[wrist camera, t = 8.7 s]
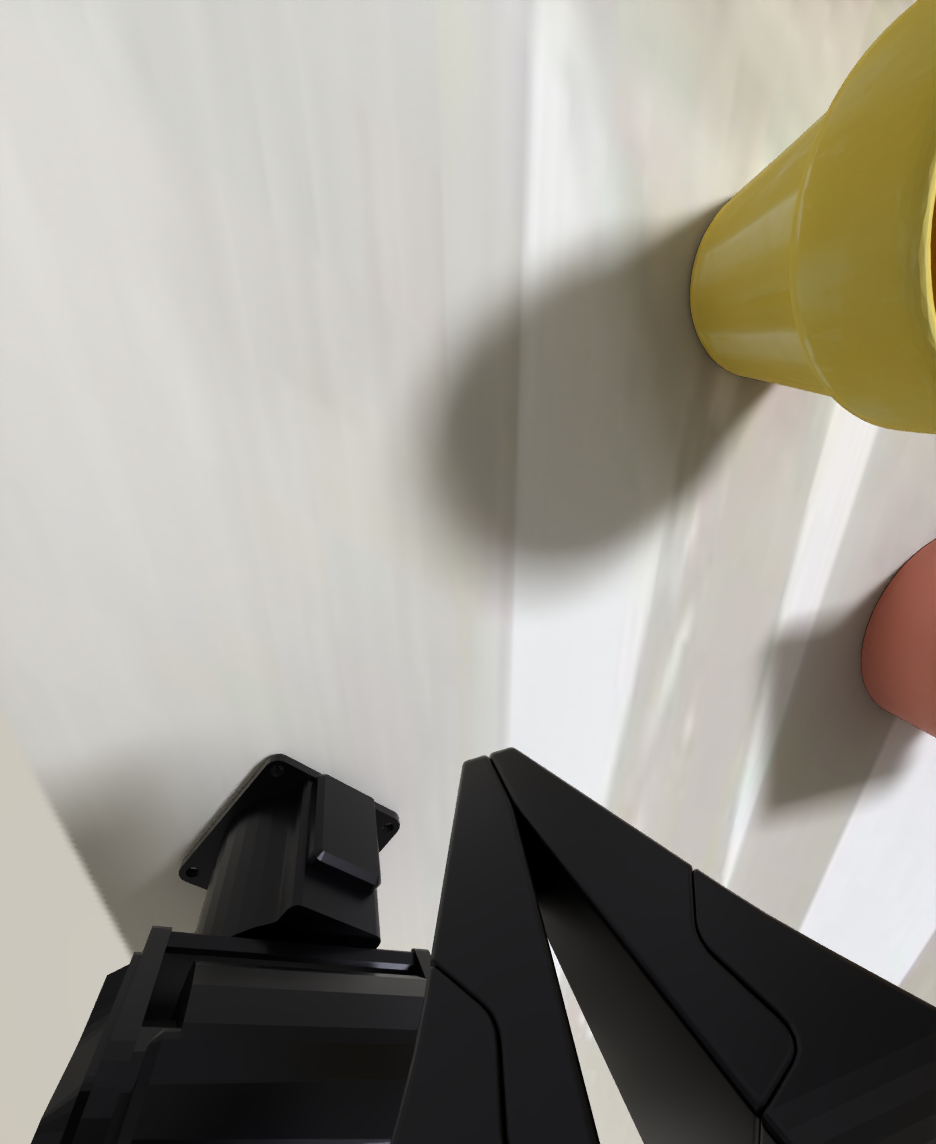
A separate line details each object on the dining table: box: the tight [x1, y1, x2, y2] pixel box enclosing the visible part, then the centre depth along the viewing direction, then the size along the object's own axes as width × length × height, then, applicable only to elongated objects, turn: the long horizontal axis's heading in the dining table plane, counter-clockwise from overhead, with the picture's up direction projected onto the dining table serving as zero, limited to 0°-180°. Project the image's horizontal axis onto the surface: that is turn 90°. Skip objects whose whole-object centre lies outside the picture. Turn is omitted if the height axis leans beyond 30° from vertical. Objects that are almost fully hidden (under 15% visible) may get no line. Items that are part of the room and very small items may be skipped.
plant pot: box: [690, 0, 936, 434], centre depth 15 cm, size 10×10×10 cm
